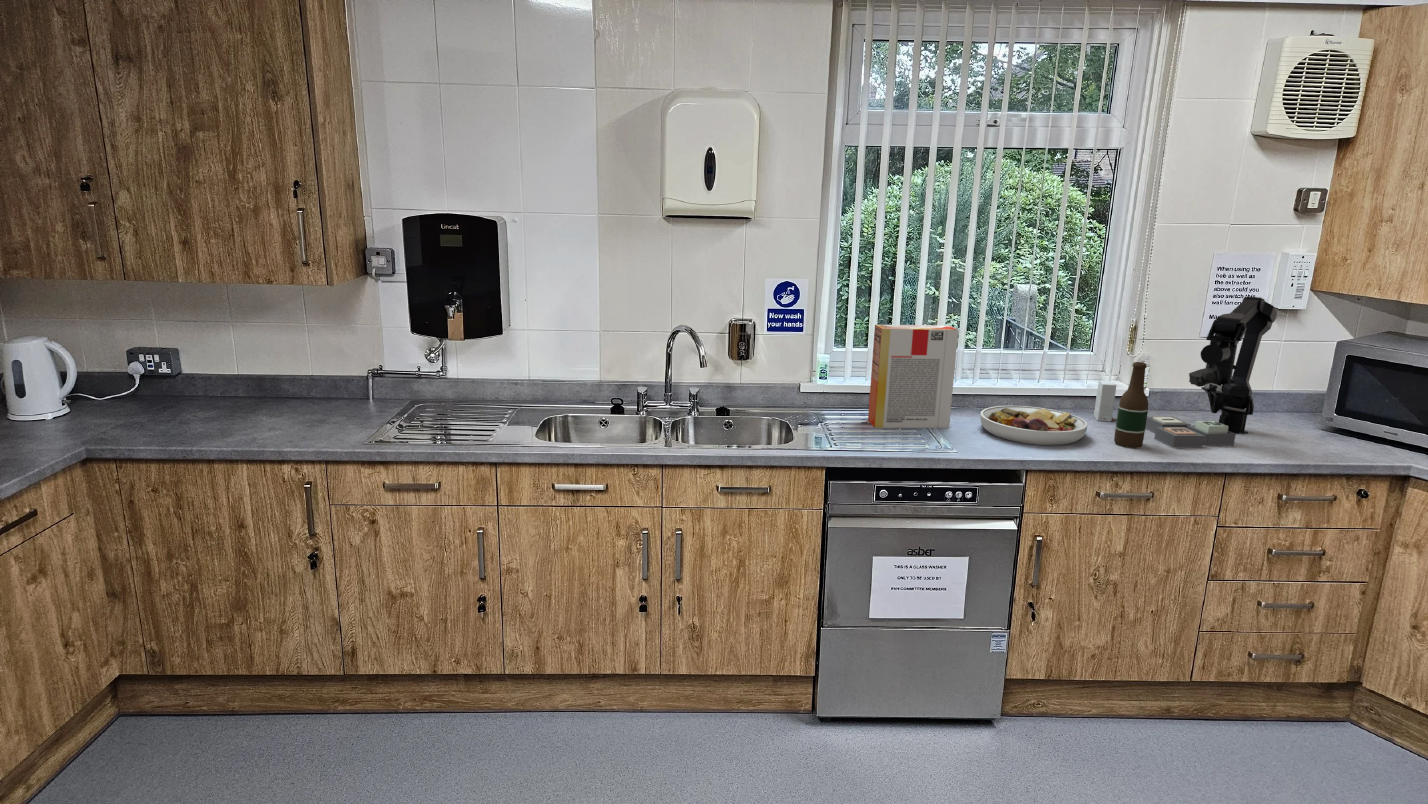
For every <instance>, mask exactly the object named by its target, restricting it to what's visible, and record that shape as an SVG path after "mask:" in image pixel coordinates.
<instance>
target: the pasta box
mask: <svg viewBox="0 0 1428 804" xmlns="http://www.w3.org/2000/svg"><path fill="white" fill-rule="evenodd" d="M958 338H959V329H958V328H955V327H953V326H951V325H943V324H942V325H941V324H940V325H939V324H938V325H936V324H935V325H933V324H931V325H930V324H928V325H927V324H926V325H925V324H874V332H873V346H872V359H871V360H872V361H871V374H870V375H871V376H870V385H869V387H870V389H869V398H868V399H869V402H868V403H869V404H868V413H867V415H868V416H867V421H868V422H869V423H870V424H871V425H872V427H874V428H881V429H882V428H884V429H885V428H887V429H888V428H889V429H890V428H891V429H893V428H899V429H900V428H904V429H906V428H907V429H910V428H911V429H913V428H914V429H915V428H916V429H919V428H920V429H950V422H951V421H950V419H951V410H952V402H953V401H952V399H953V390H954V379H955V369H956V360H957V359H956V358H957V346H958Z"/></svg>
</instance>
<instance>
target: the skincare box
mask: <svg viewBox="0 0 1428 804" xmlns="http://www.w3.org/2000/svg"><path fill="white" fill-rule="evenodd" d="M1116 390H1117V384H1116V383H1115V382H1114V381H1110V380H1098V383H1097V390H1096V399H1095V405H1094V413H1093V417H1094V418H1095V419H1096V420H1097V421H1099V422H1112V419H1113V412H1114V407H1115V406H1114V405H1115V398H1116Z"/></svg>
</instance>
